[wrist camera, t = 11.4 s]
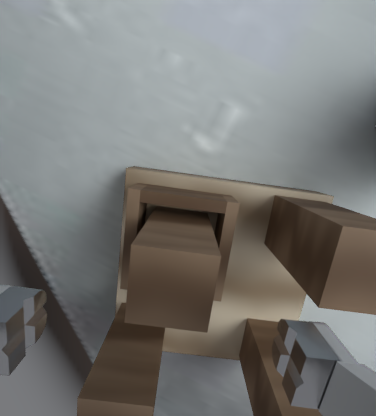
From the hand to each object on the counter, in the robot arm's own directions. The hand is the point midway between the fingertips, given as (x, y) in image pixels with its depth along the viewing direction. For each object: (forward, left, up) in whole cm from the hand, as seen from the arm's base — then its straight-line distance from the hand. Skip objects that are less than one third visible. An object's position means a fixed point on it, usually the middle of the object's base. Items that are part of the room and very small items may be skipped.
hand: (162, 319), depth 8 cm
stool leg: (0, 0, -11) cm, 11 cm away
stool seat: (+4, +4, -13) cm, 14 cm away
